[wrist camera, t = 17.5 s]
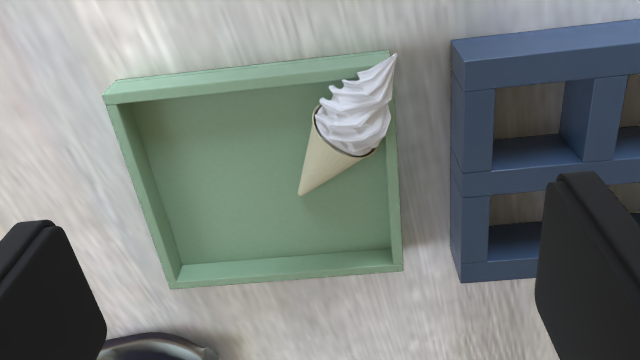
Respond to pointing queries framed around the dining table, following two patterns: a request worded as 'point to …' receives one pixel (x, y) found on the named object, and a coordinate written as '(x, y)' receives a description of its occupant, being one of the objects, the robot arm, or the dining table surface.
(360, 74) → the ice cream cone
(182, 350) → the avocado toast plate
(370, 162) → the shallow green box
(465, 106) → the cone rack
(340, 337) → the dining table surface
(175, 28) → the dining table surface
